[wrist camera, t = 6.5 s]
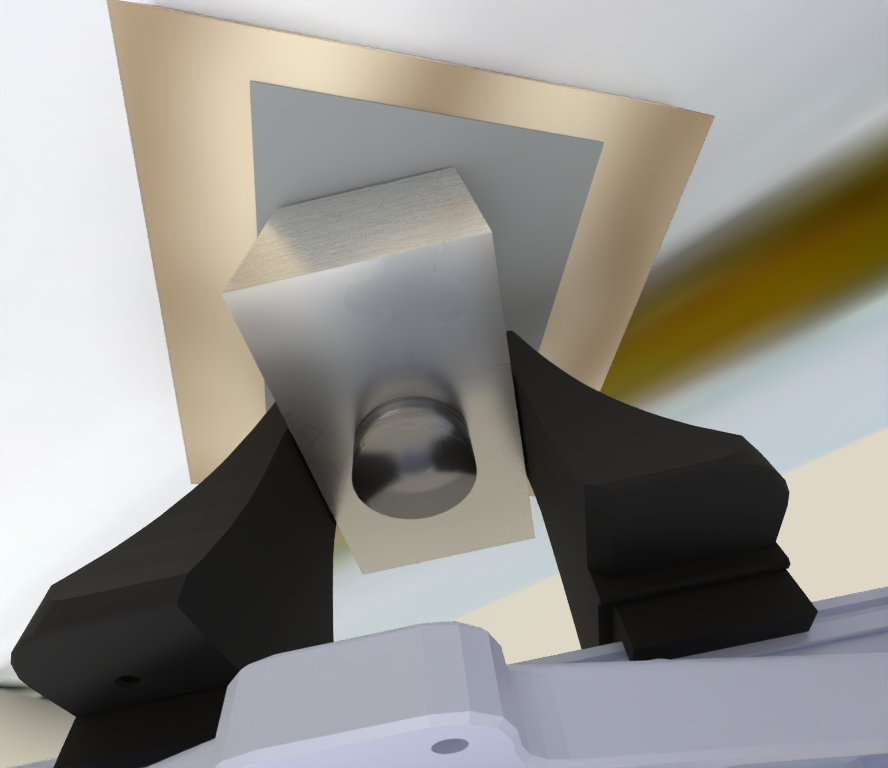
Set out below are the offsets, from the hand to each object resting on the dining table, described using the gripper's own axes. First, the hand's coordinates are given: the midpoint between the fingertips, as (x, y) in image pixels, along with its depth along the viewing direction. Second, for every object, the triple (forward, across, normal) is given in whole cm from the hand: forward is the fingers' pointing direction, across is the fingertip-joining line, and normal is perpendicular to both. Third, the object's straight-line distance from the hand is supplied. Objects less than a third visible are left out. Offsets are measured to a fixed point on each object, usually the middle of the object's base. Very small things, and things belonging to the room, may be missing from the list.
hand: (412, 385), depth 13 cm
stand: (+5, 0, 0) cm, 5 cm away
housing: (+2, 0, 0) cm, 2 cm away
